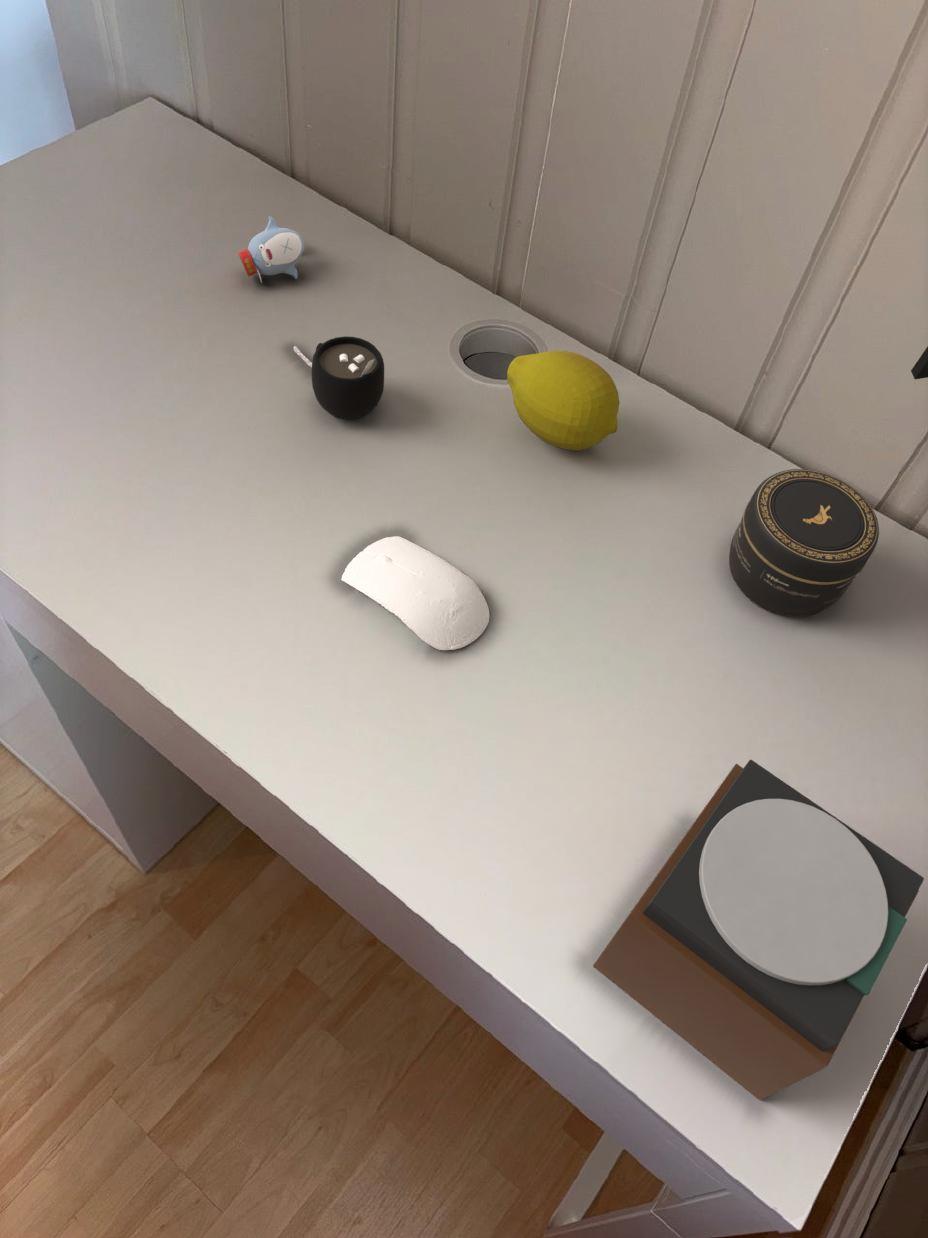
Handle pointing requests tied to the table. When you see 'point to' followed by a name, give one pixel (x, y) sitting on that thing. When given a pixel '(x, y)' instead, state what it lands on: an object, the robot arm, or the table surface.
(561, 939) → the table surface
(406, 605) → the computer mouse
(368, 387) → the mug
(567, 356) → the lemon
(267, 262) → the figurine
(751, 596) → the jar
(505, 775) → the table surface
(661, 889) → the scale
